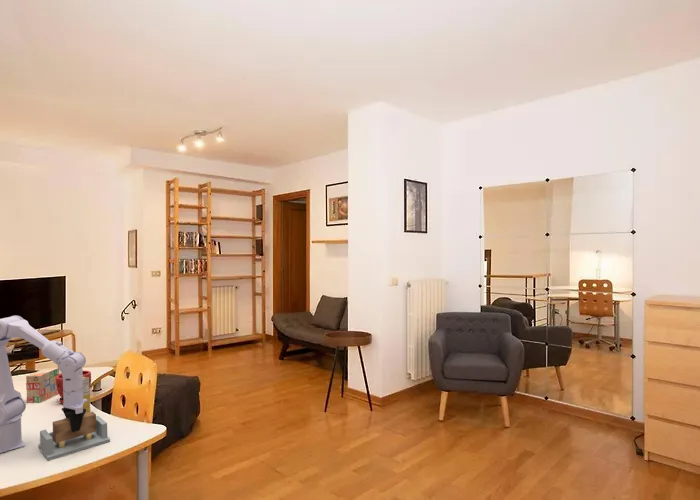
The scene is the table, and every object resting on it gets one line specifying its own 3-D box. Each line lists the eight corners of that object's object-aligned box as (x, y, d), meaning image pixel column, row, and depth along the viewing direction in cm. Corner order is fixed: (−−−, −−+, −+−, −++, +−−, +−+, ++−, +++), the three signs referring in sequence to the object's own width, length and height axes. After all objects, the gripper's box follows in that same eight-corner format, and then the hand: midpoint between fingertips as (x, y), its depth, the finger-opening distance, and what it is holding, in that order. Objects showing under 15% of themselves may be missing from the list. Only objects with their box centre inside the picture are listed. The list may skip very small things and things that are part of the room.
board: (55, 443, 144) (55, 424, 144) (53, 439, 146) (52, 421, 146) (96, 431, 152) (95, 414, 152) (93, 428, 155) (92, 411, 155)
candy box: (67, 413, 178) (66, 376, 177) (78, 410, 181) (77, 373, 181) (80, 417, 173) (79, 379, 173) (91, 414, 177) (90, 376, 177)
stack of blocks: (60, 387, 213) (59, 362, 213) (72, 387, 213) (72, 362, 212) (26, 403, 191) (25, 375, 191) (40, 403, 191) (39, 375, 191)
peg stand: (47, 460, 138) (47, 441, 138) (38, 447, 148) (37, 429, 148) (110, 441, 151) (109, 424, 151) (97, 430, 160) (97, 414, 160)
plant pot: (98, 395, 199) (97, 369, 199) (77, 406, 186) (76, 378, 186) (71, 395, 200) (70, 369, 200) (49, 405, 187) (48, 378, 187)
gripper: (92, 391, 147) (93, 431, 147) (80, 382, 157) (81, 420, 157) (68, 396, 142) (69, 438, 142) (57, 387, 152) (58, 426, 152)
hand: (74, 429), depth 149 cm, fingers closed on board, 4 cm apart
